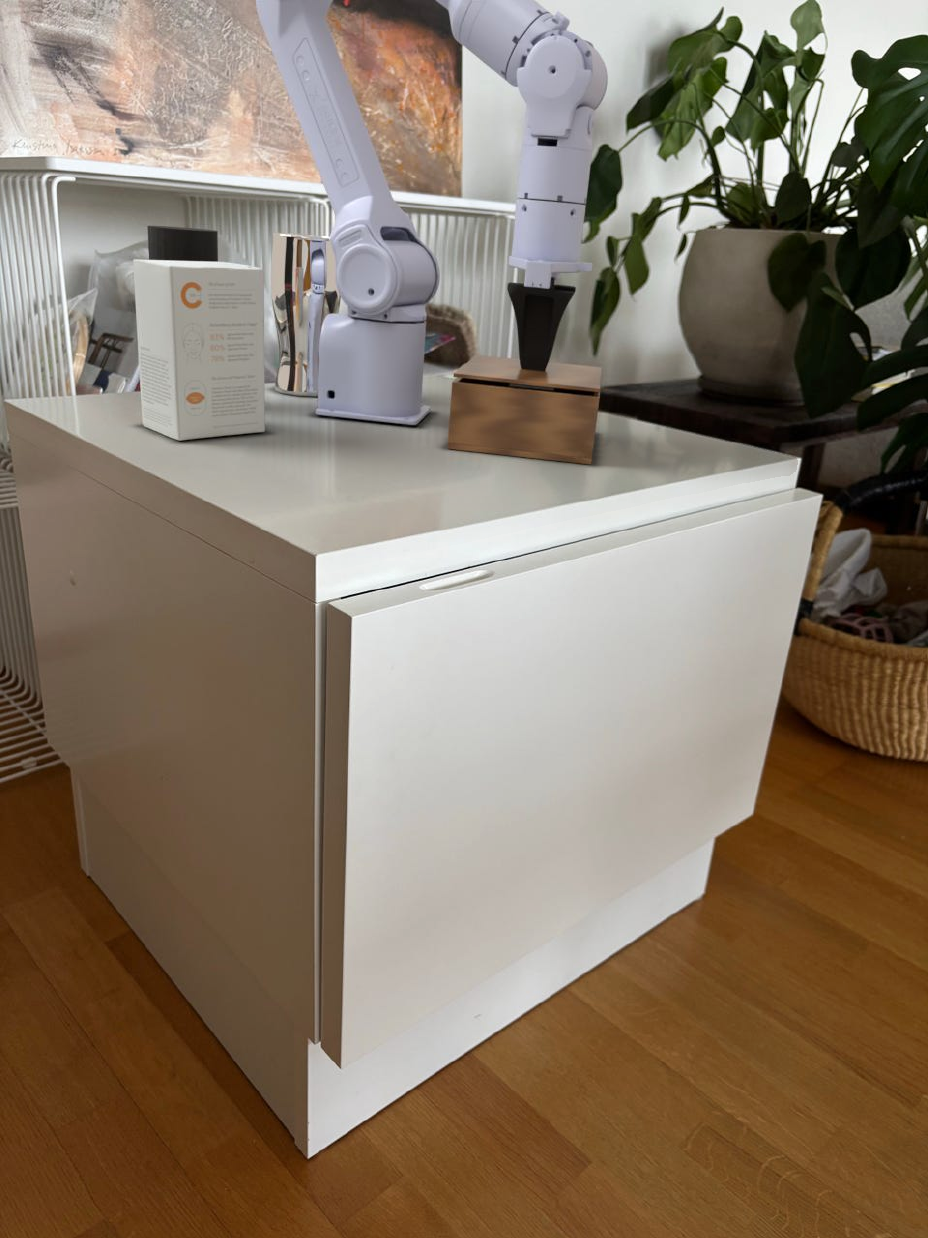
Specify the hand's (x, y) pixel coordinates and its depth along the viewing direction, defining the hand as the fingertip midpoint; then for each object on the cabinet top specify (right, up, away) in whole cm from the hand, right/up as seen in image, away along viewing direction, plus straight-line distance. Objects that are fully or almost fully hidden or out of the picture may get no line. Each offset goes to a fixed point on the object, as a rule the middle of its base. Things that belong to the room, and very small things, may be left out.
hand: (533, 370), depth 85 cm
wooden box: (-1, -6, +1) cm, 6 cm away
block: (0, -4, +4) cm, 6 cm away
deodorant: (-32, -2, +6) cm, 33 cm away
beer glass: (-23, +2, +15) cm, 27 cm away
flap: (0, +1, +2) cm, 2 cm away
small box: (-28, -6, -5) cm, 29 cm away
